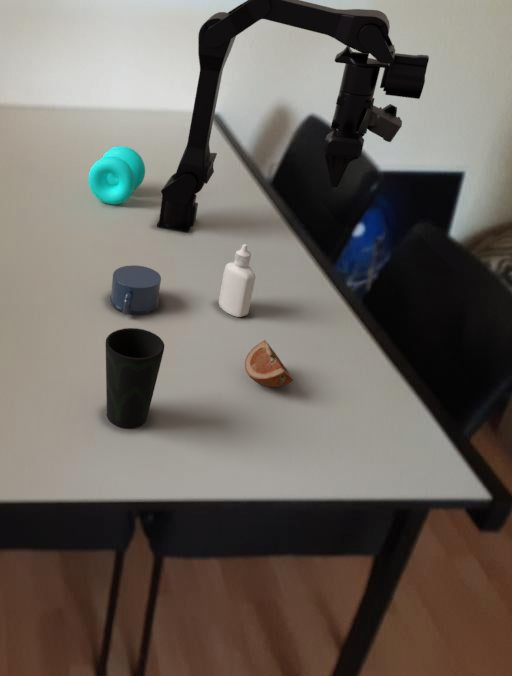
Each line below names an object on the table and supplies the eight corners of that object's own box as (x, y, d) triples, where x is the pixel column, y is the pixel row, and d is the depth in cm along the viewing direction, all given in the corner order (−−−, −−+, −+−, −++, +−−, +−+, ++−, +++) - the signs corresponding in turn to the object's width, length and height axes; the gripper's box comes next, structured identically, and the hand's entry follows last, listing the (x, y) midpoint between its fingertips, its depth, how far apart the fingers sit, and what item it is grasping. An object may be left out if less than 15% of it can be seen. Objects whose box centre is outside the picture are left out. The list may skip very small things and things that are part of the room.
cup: (95, 400, 120) (102, 328, 113) (149, 399, 121) (158, 327, 114) (103, 434, 114) (110, 359, 107) (159, 432, 114) (169, 358, 108)
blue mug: (117, 287, 148) (119, 261, 145) (163, 296, 146) (167, 270, 143) (100, 314, 140) (102, 287, 137) (149, 324, 138) (152, 297, 135)
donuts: (85, 201, 178) (88, 155, 173) (100, 185, 186) (104, 140, 180) (130, 210, 175) (134, 163, 170) (144, 193, 183) (149, 148, 177)
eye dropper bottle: (242, 301, 145) (254, 237, 138) (249, 318, 141) (262, 253, 134) (216, 301, 145) (227, 237, 138) (223, 318, 140) (235, 252, 134)
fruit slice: (298, 398, 122) (305, 369, 119) (253, 400, 122) (259, 371, 119) (278, 366, 129) (285, 338, 126) (236, 367, 128) (241, 339, 125)
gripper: (404, 112, 136) (380, 203, 145) (407, 83, 151) (384, 168, 160) (333, 102, 140) (313, 193, 148) (342, 76, 154) (324, 159, 163)
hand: (336, 178), depth 155 cm, fingers open, 9 cm apart
